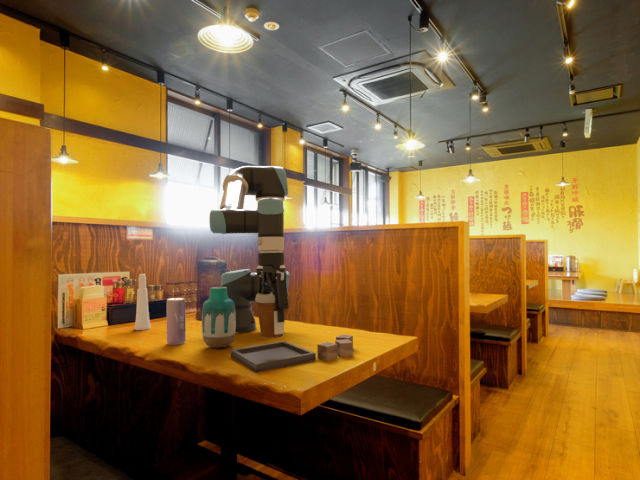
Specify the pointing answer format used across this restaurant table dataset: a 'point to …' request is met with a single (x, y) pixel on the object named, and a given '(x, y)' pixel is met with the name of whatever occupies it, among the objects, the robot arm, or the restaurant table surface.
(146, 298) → the cosmetic bottle
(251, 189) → the robot arm
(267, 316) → the disposable coffee cup
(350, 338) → the cube
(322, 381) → the restaurant table surface
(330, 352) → the cube
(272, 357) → the tray
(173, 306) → the beverage can
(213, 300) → the vase
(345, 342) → the cube
